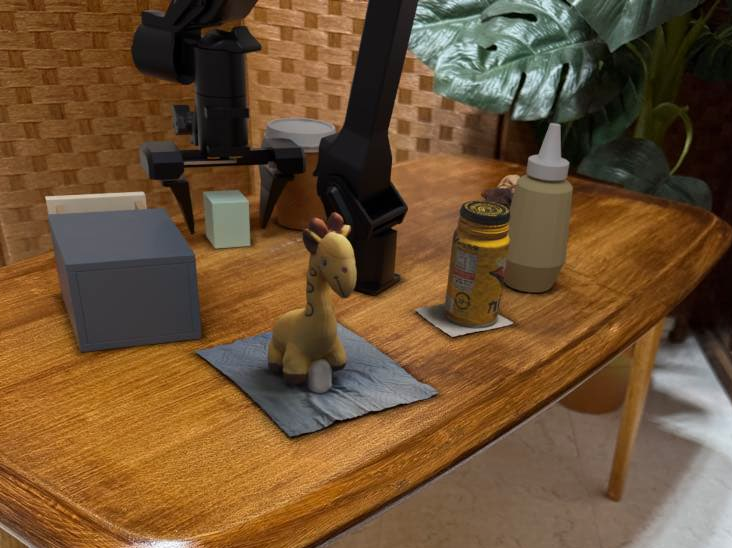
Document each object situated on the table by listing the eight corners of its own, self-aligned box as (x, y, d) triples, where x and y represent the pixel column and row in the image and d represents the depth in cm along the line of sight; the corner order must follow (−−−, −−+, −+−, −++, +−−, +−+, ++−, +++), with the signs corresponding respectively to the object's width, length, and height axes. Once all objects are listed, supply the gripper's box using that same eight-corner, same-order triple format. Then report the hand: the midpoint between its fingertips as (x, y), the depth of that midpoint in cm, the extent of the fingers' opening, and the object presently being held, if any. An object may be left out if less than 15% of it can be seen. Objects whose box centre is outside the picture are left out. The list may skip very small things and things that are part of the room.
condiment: (513, 324, 93) (532, 214, 86) (452, 338, 89) (466, 224, 82) (474, 300, 98) (488, 193, 91) (413, 312, 94) (423, 201, 87)
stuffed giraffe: (289, 437, 71) (291, 247, 62) (195, 357, 82) (185, 185, 73) (437, 399, 80) (458, 226, 70) (333, 331, 91) (340, 174, 82)
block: (240, 233, 109) (238, 189, 105) (250, 246, 106) (249, 201, 102) (205, 236, 107) (202, 191, 104) (215, 248, 104) (212, 203, 101)
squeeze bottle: (573, 287, 103) (606, 128, 92) (534, 303, 99) (564, 138, 87) (520, 267, 107) (546, 112, 96) (481, 281, 103) (503, 120, 91)
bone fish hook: (538, 239, 117) (552, 200, 131) (545, 205, 114) (559, 168, 128) (472, 226, 119) (494, 188, 132) (478, 192, 116) (499, 157, 129)
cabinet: (62, 296, 90) (47, 214, 85) (171, 286, 94) (164, 207, 89) (80, 352, 81) (65, 264, 75) (201, 338, 85) (195, 254, 79)
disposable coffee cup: (350, 222, 115) (353, 127, 108) (307, 239, 109) (308, 138, 101) (295, 206, 119) (295, 113, 112) (251, 222, 112) (247, 124, 105)
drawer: (51, 243, 99) (40, 183, 95) (142, 237, 103) (135, 178, 98) (71, 302, 87) (60, 236, 83) (173, 292, 91) (167, 229, 87)
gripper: (278, 77, 105) (279, 206, 115) (123, 77, 98) (138, 214, 108) (307, 98, 97) (306, 234, 107) (142, 99, 90) (157, 245, 100)
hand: (227, 230), depth 106 cm, fingers open, 9 cm apart
